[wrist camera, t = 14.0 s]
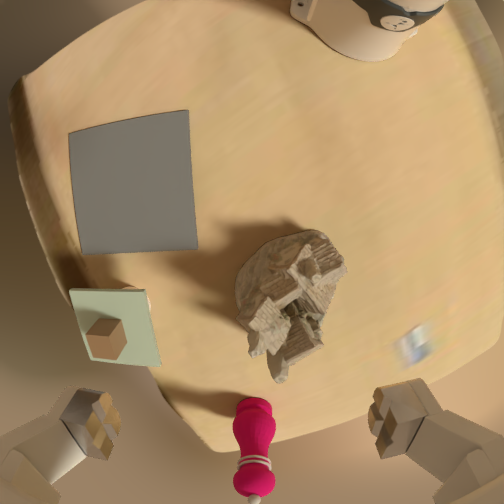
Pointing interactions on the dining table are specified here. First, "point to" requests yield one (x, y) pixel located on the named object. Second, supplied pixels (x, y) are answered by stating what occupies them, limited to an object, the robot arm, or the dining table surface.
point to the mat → (134, 185)
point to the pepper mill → (254, 448)
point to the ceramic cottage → (287, 297)
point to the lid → (116, 325)
